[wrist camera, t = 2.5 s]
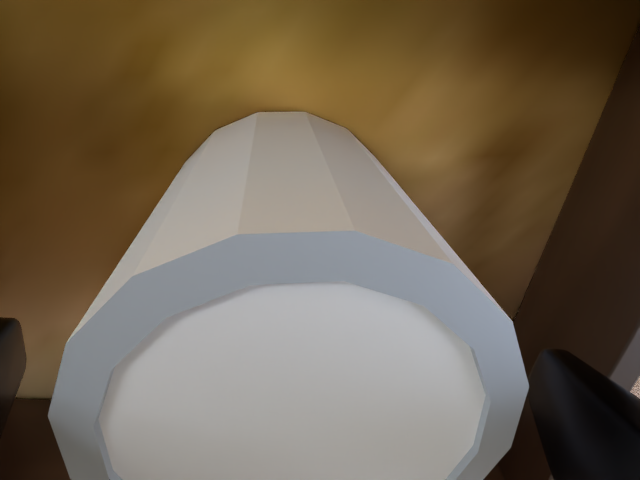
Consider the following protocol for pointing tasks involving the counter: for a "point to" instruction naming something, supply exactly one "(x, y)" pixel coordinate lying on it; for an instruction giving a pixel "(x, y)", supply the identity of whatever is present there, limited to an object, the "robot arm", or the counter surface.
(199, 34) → the counter surface
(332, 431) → the shot glass
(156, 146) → the counter surface
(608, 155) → the brown square frame
